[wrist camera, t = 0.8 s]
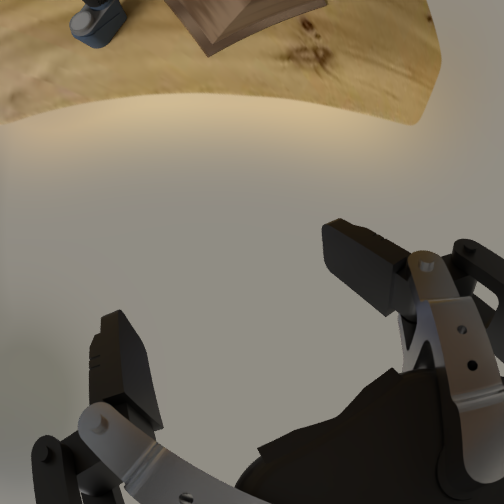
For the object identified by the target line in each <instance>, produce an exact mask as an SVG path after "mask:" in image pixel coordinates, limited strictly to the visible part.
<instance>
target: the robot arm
mask: <svg viewBox="0 0 504 504" xmlns="http://www.w3.org/2000/svg"><path fill="white" fill-rule="evenodd" d="M322 241H323V254H324V261H325V264H326V266H327V268H328V269H329V271H330V272H331V273H332V274H334V275H335V276H336V277H337V278H339V279H340V280H341V281H342V282H344V283H345V284H346V285H347V286H349V287H350V288H351V289H352V290H353V291H355V292H356V293H357V294H358V295H360V296H361V297H362V298H363V299H364V300H366V301H367V302H368V303H369V304H371V305H372V306H373V307H374V308H375V309H377V310H378V311H379V312H380V313H381V314H383V315H384V316H385V317H387V316H388V315H389V314H391V313H392V312H394V311H395V310H396V311H397V312H398V324H399V330H400V337H401V343H402V350H403V369H402V373H398V372H396V371H395V370H394V369H393V368H390V369H389V370H388V371H387V372H385V373H384V374H383V375H381V376H380V377H379V378H377V379H376V380H374V381H373V382H372V383H370V384H369V385H368V386H366V387H365V388H364V389H363V390H362V391H361V392H360V393H359V394H358V395H357V396H356V398H355V399H354V400H353V401H352V402H351V403H350V404H349V405H348V407H346V408H345V410H344V411H343V412H342V413H341V414H340V415H338V416H337V417H335V418H333V419H330V420H327V421H324V422H321V423H318V424H314V425H311V426H307V427H304V428H300V429H297V430H294V431H292V432H290V433H288V434H286V435H284V436H282V437H280V438H278V439H276V440H274V441H272V442H269V443H267V444H265V445H263V446H261V447H259V448H257V449H258V451H259V453H260V455H261V456H260V457H259V458H258V459H256V460H255V461H254V462H253V463H252V464H251V465H250V466H249V467H248V468H247V469H246V470H245V471H244V472H243V474H242V475H241V477H240V478H239V480H238V481H237V483H236V485H235V487H232V486H230V485H228V484H226V483H224V482H222V481H220V480H218V479H216V478H214V477H212V476H211V475H209V474H207V473H205V472H204V471H202V470H200V469H198V468H197V467H195V466H193V465H192V464H190V463H188V462H187V461H185V460H183V459H182V458H180V457H179V456H177V455H176V454H174V453H172V452H171V451H169V450H168V449H166V448H165V447H163V446H162V445H161V444H159V443H158V442H156V438H155V434H154V431H157V430H160V429H163V428H164V427H163V423H162V420H161V416H160V413H159V408H158V404H157V400H156V395H155V391H154V387H153V382H152V377H151V373H150V368H149V363H148V357H147V352H146V349H145V347H144V344H143V342H142V341H141V339H140V337H139V336H138V334H137V333H136V331H135V330H134V328H133V327H132V325H131V324H130V322H129V321H128V319H127V318H126V316H125V314H124V313H123V312H122V311H121V310H117V311H115V312H112V313H110V314H107V315H105V316H103V317H101V332H100V333H99V334H96V335H95V336H94V338H93V341H92V343H91V345H90V352H89V359H90V361H89V369H90V370H89V404H90V405H89V407H87V408H86V409H85V410H84V411H83V413H82V414H81V416H80V418H79V421H78V430H77V431H76V432H74V433H73V434H71V435H70V436H68V437H67V438H65V439H64V440H62V441H59V440H58V439H56V438H55V437H53V436H50V435H45V436H42V437H40V438H39V439H38V440H37V441H36V442H35V444H34V446H33V449H32V453H31V461H32V473H33V482H34V491H35V498H36V504H82V500H81V496H80V492H81V495H82V499H83V503H84V504H125V503H124V500H123V497H122V494H121V490H120V488H119V485H120V484H121V483H123V482H124V483H125V484H126V485H125V486H124V488H125V490H126V491H127V492H128V493H129V494H130V495H131V496H132V497H133V498H134V499H135V500H137V501H138V502H139V503H140V504H504V377H502V376H500V373H499V370H498V366H497V363H496V359H495V356H496V357H497V358H499V359H500V360H501V361H502V362H503V363H504V259H503V258H501V257H500V256H498V255H497V254H495V253H493V252H492V251H490V250H488V249H487V248H486V247H484V246H482V245H481V244H479V243H477V242H475V241H473V240H470V239H459V240H457V241H455V243H454V246H453V251H452V254H448V255H445V256H442V257H440V256H439V255H437V254H435V253H433V252H430V251H416V252H413V253H412V254H411V253H409V252H408V251H406V250H405V249H403V248H401V247H400V246H398V245H396V244H394V243H392V242H391V241H389V240H387V239H384V238H383V237H382V236H380V235H377V234H376V233H375V232H373V231H371V230H369V229H367V228H365V227H360V226H356V225H353V224H351V223H349V222H347V221H345V220H343V219H341V218H338V219H336V220H334V221H331V222H329V223H327V224H324V225H323V226H322ZM477 281H478V282H480V283H481V284H483V285H484V286H485V287H487V288H488V289H489V290H491V291H492V292H493V293H495V294H496V296H497V297H498V300H499V305H498V308H497V310H496V311H495V310H494V309H492V308H491V307H490V306H488V305H487V304H486V303H485V302H484V301H482V300H481V299H480V298H478V297H477V296H476V295H474V294H473V291H474V289H475V286H476V283H477ZM494 355H495V356H494Z"/></svg>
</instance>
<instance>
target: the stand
mask: <svg viewBox="0 0 504 504" xmlns="http://www.w3.org/2000/svg"><path fill="white" fill-rule="evenodd" d="M164 1H165V2H166V3H167V5H168V6H169V7H170V8H171V9H172V11H173V12H174V13H175V15H176V16H177V17H178V18H179V20H180V21H181V22H182V23H183V25H184V26H185V27H186V29H187V30H188V31H189V33H190V34H191V35H192V37H193V38H194V39H195V41H196V42H197V43H198V45H199V46H200V47H201V49H202V50H203V51H204V53H205V54H206V56H207V57H210V56H212V55H213V54H215V53H217V52H219V51H221V50H222V49H224V48H226V47H228V46H230V45H232V44H234V43H236V42H238V41H240V40H242V39H244V38H246V37H248V36H250V35H252V34H254V33H256V32H258V31H261V30H263V29H265V28H267V27H270V26H272V25H274V24H277V23H279V22H282V21H284V20H287V19H289V18H292V17H295V16H297V15H300V14H303V13H306V12H309V11H312V10H315V9H318V8H321V7H324V6H326V5H327V4H326V2H325V1H324V0H164Z"/></svg>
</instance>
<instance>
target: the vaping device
mask: <svg viewBox="0 0 504 504" xmlns="http://www.w3.org/2000/svg"><path fill="white" fill-rule="evenodd" d="M83 1H84V2H85V5H84V7H83V8H82V9H81V11H80V12H78V13H77V14H75V15H74V16H73V17H72V19H71V20H70V23H69V27H70V30H71V33H72V35H73V36H74V38H76V39H78V40H80V41H81V42H83V43H85V44H87V45H88V46H90V47H92V48H102V47H104V46H106V45H107V44H108V43H109V42H110V40H111V39H112V38H113V36H114V35H115V34H116V32H117V31H118V29H119V28H120V27H121V26H122V24H123V23H124V22H125V20H126V18H127V16H126V14H125V12H124V10H123V8H122V7H121V5H120V2H119V0H83Z"/></svg>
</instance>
